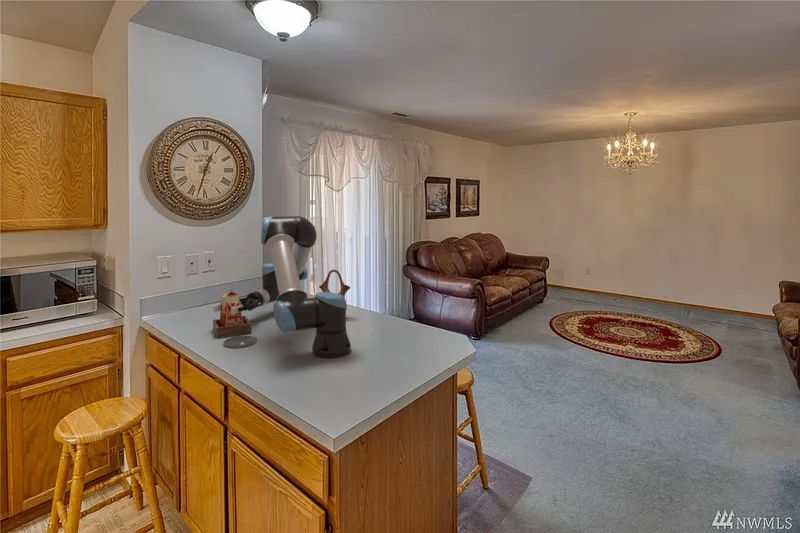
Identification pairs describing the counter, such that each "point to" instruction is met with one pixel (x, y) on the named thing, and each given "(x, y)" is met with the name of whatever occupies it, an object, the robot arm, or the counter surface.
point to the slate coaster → (240, 341)
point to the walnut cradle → (231, 329)
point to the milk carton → (227, 303)
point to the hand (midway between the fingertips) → (222, 310)
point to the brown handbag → (343, 287)
